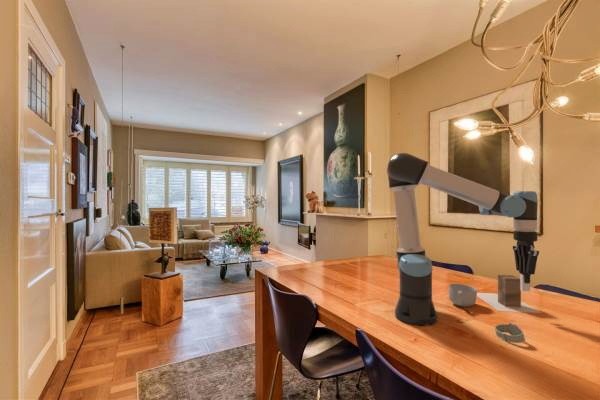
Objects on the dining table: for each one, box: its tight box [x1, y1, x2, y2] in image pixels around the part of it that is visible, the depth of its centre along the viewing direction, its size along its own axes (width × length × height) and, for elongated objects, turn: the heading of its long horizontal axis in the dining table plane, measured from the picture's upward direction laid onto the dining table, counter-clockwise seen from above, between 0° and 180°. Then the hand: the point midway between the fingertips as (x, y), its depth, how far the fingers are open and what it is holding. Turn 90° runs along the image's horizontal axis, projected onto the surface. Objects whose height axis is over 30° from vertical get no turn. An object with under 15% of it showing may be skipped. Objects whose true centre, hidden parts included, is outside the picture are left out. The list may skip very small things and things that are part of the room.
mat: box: [476, 292, 542, 314], centre depth 133 cm, size 24×16×1 cm, turn 173°
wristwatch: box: [494, 322, 526, 344], centre depth 99 cm, size 9×6×5 cm
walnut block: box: [497, 274, 522, 308], centre depth 129 cm, size 6×6×12 cm
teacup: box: [448, 283, 478, 308], centre depth 130 cm, size 14×11×8 cm
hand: (525, 290), depth 118 cm, fingers closed
